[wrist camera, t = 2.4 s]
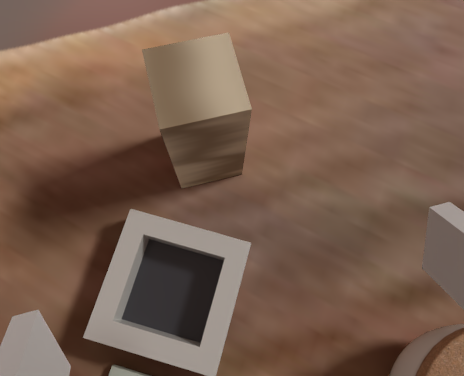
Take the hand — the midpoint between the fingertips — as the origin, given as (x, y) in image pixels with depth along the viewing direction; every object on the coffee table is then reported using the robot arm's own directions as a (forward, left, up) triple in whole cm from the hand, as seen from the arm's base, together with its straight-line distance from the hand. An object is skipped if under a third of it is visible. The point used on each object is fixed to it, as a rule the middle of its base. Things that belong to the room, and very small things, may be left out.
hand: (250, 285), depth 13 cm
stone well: (+1, -4, -16) cm, 17 cm away
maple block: (-10, -5, -16) cm, 20 cm away
